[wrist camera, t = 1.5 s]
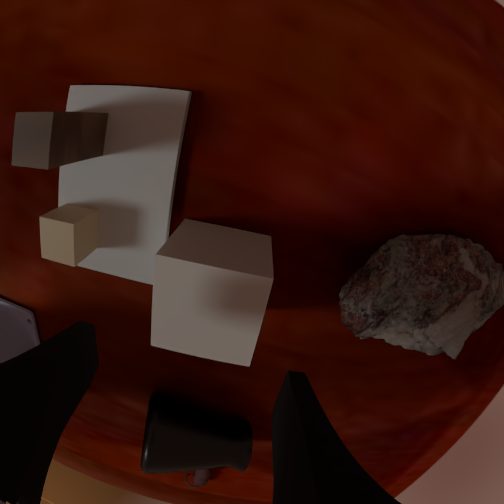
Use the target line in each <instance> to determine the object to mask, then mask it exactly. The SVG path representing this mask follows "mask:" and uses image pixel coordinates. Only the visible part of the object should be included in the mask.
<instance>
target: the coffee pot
mask: <svg viewBox="0 0 504 504" xmlns="http://www.w3.org/2000/svg"><path fill="white" fill-rule="evenodd" d="M252 445H253V439H252V429H251V426H250V423H249V422H248V420H242V421H238V422H235V423H230V422H227V421H225V420H222V419H220V418H217V417H215V416H212V415H210V414H207V413H205V412H203V411H200V410H198V409H196V408H193V407H191V406H189V405H187V404H184V403H182V402H180V401H178V400H176V399H174V398H172V397H169V396H167V395H165V394H163V393H161V392H157V391H155V392H153V393H152V394H151V396H150V400H149V406H148V412H147V418H146V425H145V432H144V439H143V447H142V456H141V470H142V471H143V472H144V473H147V474H158V473H173V472H184V471H194V470H196V471H195V475H194V477H193V480H194V483H195V484H196V485H197V486H192V485H190V484H188V482H187V476H188V475H190V473H188V474H187V475H186V477H185V482H186V484H187V485H189V486H190V487H198V486H203V485H205V484H206V483H207V482H208V479H209V477H210V474H211V472H210V468H217V467H224V466H230V467H232V468H234V469H236V470H238V471H241V472H243V471H245V469H246V468H247V467H248V464H249V462H250V458H251V454H252Z"/></svg>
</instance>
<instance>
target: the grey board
mask: <svg viewBox="0 0 504 504" xmlns="http://www.w3.org/2000/svg"><path fill="white" fill-rule="evenodd" d="M191 94H192V92H190V91H184V90H174V89H164V88H152V87H137V86H114V85H70V90H69V95H68V101H67V107H66V111H72V112H98V113H109V115H108V121H107V128H106V135H105V143H104V151H103V156H100V157H95V158H91V159H87V160H83V161H79V162H75V163H71V164H67V165H63V166H60V175H59V202H58V208H56V209H54V210H52V211H50V212H48V213H46V214H44V215H42V216H40V238H41V253H42V258H45V259H49V260H52V261H56V262H59V263H63V264H66V265H70V266H73V267H75V266H76V265H77V266H81V267H85V268H88V269H92V270H96V271H100V272H103V273H107V274H111V275H115V276H119V277H123V278H127V279H131V280H135V281H139V282H143V283H147V284H152V285H153V282H154V268H155V255H156V253H157V252H158V251H159V249H160V248H161V247H162V246H163V245H164V243H165V242H166V241H167V240H168V237H169V228H170V220H171V212H172V205H173V197H174V190H175V184H176V177H177V170H178V164H179V158H180V152H181V146H182V141H183V135H184V130H185V124H186V119H187V114H188V109H189V104H190V99H191Z"/></svg>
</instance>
